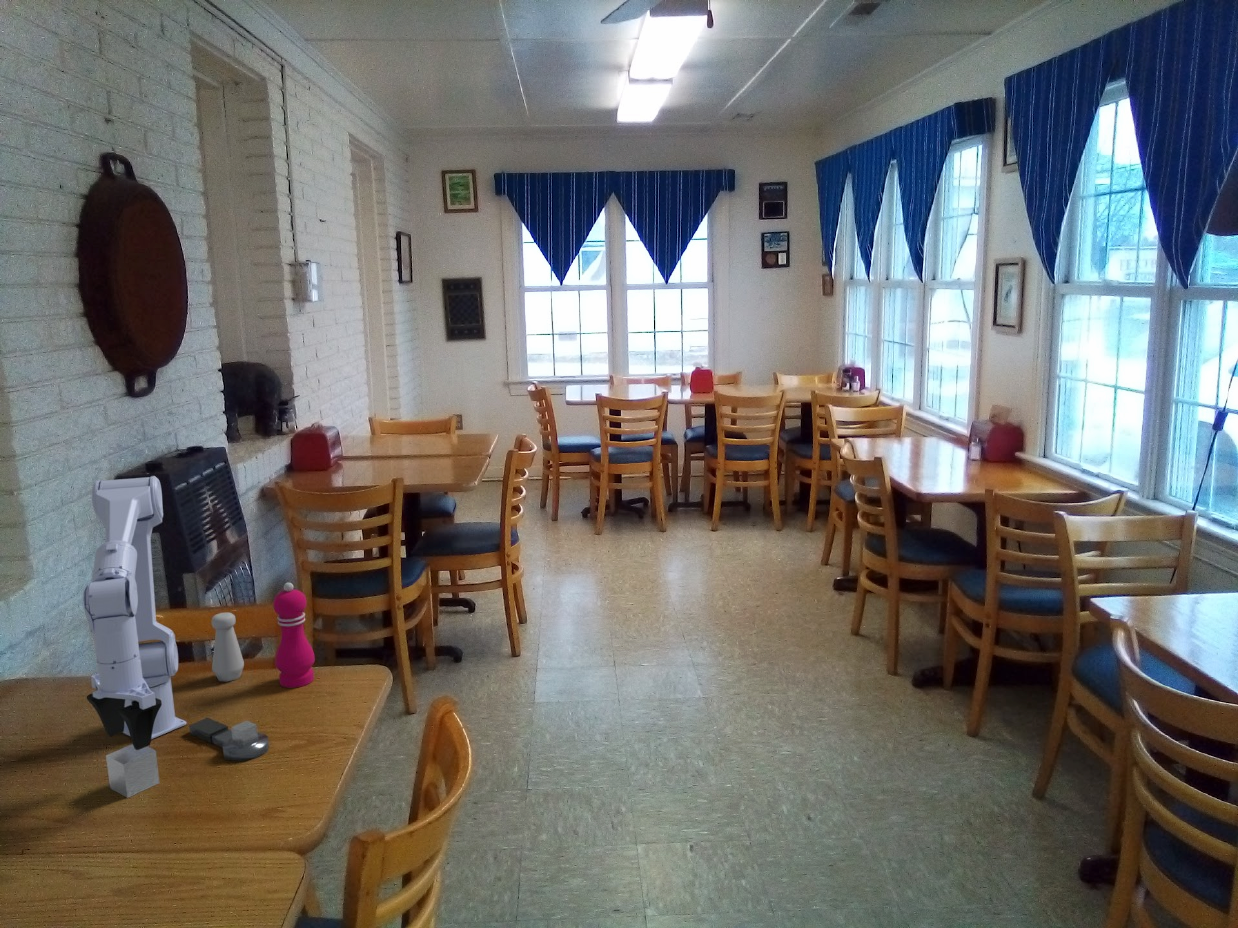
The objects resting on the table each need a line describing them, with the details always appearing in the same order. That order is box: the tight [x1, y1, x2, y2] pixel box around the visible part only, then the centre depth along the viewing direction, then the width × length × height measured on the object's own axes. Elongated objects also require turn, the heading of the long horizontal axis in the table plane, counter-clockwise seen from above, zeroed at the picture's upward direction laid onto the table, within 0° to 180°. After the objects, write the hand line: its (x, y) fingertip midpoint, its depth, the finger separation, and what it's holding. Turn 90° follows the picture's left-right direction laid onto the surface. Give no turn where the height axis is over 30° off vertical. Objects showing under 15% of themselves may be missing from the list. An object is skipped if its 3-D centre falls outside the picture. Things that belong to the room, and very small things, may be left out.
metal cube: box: [105, 743, 160, 799], centre depth 142 cm, size 5×5×6 cm
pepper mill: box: [272, 582, 316, 689], centre depth 178 cm, size 7×7×20 cm
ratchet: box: [188, 717, 270, 762], centre depth 155 cm, size 17×7×4 cm, turn 56°
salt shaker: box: [211, 612, 245, 683], centre depth 181 cm, size 6×6×13 cm
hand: (129, 740), depth 141 cm, fingers open, 7 cm apart
